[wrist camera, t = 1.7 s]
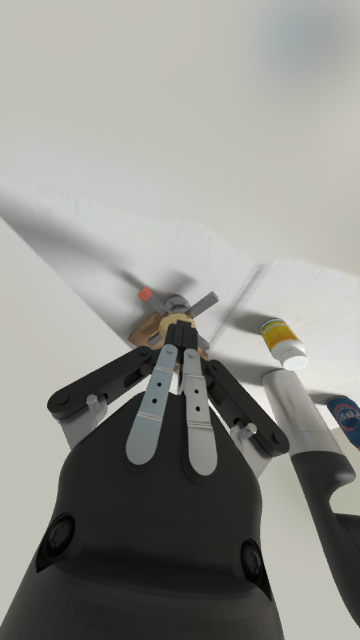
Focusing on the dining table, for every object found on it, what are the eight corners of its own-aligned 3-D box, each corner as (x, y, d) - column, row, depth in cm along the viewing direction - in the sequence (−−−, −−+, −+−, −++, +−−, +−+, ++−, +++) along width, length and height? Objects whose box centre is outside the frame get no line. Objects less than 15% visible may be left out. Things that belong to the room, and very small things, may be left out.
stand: (207, 354, 40) (208, 369, 36) (180, 367, 44) (178, 382, 41) (156, 311, 33) (151, 324, 29) (131, 332, 38) (123, 346, 34)
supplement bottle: (292, 325, 32) (322, 362, 24) (270, 340, 35) (291, 376, 27) (275, 313, 31) (301, 348, 23) (254, 329, 34) (271, 365, 26)
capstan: (237, 312, 31) (247, 335, 25) (179, 348, 39) (176, 371, 33) (180, 246, 24) (175, 257, 19) (124, 305, 32) (109, 325, 27)
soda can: (342, 393, 45) (382, 443, 35) (356, 400, 46) (398, 450, 37) (319, 401, 49) (349, 448, 39) (333, 408, 50) (365, 455, 41)
